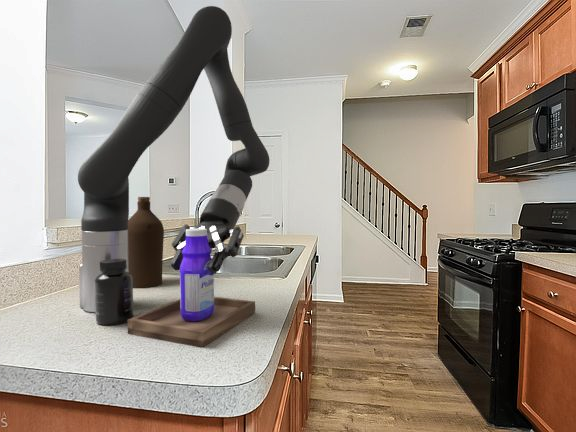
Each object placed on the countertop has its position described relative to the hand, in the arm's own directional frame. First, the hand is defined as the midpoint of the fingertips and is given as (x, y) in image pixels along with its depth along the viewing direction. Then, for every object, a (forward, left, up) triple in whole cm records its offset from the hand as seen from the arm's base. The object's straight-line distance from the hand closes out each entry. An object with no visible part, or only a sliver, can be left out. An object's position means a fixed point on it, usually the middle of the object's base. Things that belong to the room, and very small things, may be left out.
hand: (192, 269), depth 67 cm
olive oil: (-33, +22, -11) cm, 41 cm away
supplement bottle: (-16, -4, -11) cm, 20 cm away
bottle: (0, +2, -10) cm, 10 cm away
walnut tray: (0, +1, -11) cm, 11 cm away
